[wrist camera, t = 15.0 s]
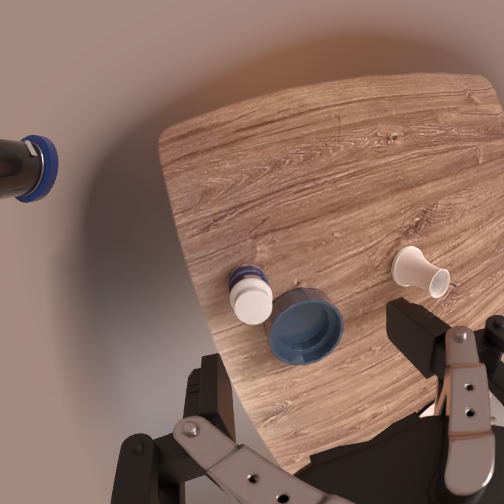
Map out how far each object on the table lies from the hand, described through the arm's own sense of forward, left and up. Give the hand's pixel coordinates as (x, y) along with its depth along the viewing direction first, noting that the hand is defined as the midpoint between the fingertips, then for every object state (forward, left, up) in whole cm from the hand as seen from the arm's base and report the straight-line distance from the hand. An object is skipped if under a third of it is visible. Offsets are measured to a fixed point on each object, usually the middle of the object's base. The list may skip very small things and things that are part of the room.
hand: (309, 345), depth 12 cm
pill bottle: (+1, -8, -30) cm, 31 cm away
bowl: (+11, -14, -30) cm, 35 cm away
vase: (+30, -2, -30) cm, 43 cm away
